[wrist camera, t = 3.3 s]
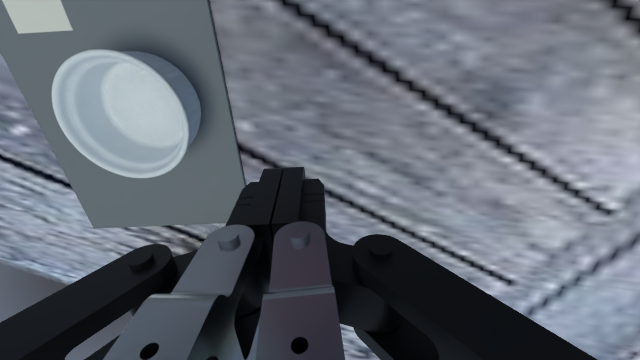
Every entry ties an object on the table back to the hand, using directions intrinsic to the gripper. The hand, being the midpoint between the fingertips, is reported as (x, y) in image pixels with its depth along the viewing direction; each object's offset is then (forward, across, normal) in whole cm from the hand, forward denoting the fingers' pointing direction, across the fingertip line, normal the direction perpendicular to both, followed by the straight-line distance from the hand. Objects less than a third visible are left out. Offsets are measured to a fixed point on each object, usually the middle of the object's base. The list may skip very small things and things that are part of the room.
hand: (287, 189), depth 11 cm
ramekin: (+14, +12, 0) cm, 19 cm away
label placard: (+14, +14, 0) cm, 20 cm away
